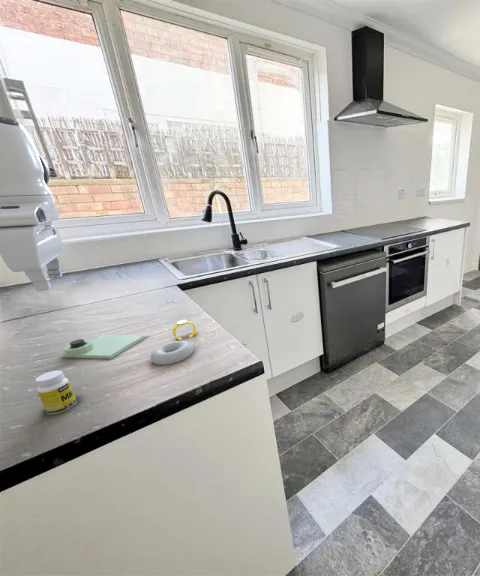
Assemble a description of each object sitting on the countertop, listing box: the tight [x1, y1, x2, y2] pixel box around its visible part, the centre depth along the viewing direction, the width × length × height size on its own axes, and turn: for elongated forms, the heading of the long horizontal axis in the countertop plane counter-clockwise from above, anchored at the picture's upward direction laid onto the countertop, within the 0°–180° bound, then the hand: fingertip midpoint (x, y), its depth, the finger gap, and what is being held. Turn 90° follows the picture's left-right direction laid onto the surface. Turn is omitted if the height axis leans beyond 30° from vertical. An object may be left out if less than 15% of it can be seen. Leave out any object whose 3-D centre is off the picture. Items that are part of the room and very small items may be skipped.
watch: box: [172, 319, 197, 341], centre depth 96 cm, size 6×3×6 cm, turn 136°
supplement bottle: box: [35, 369, 78, 415], centre depth 66 cm, size 5×5×8 cm
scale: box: [63, 334, 146, 360], centre depth 92 cm, size 14×12×3 cm
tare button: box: [69, 338, 86, 349], centre depth 88 cm, size 3×3×2 cm
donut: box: [150, 340, 194, 366], centre depth 86 cm, size 10×4×10 cm
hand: (50, 283), depth 61 cm, fingers open, 8 cm apart
